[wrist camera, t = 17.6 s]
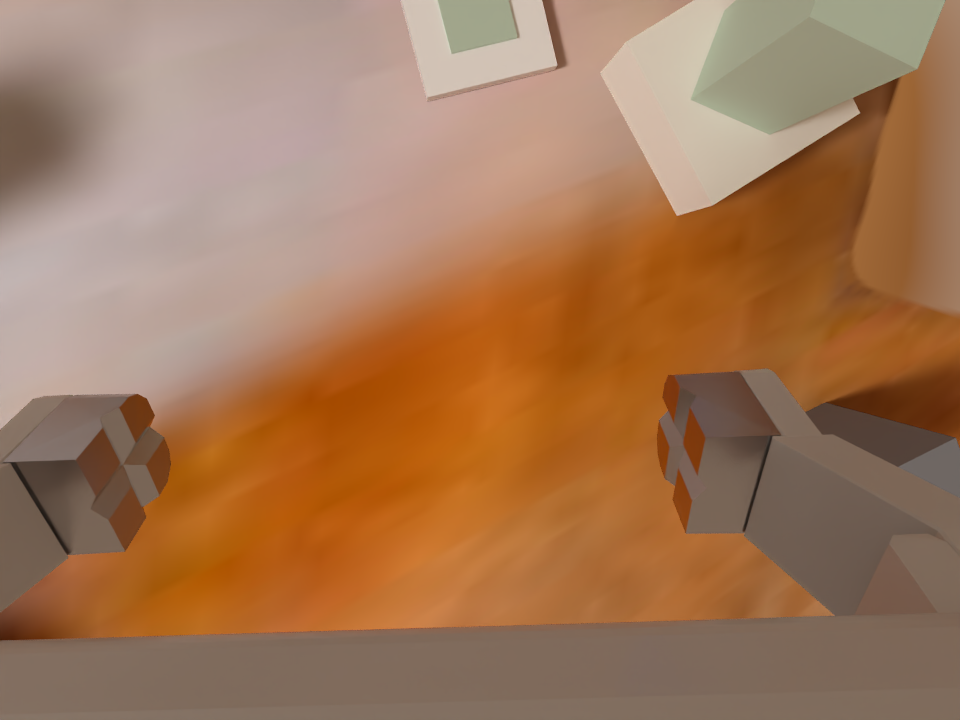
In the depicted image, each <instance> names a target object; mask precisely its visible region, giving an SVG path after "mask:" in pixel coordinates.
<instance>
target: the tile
mask: <svg viewBox="0 0 960 720" xmlns="http://www.w3.org/2000/svg"><path fill="white" fill-rule="evenodd" d="M400 1H401V5H402V9H403V12H404V16H405V20H406V24H407V28H408V31H409V35H410V39H411V43H412V46H413V50H414V54H415V58H416V61H417V65H418V69H419V73H420V76H421V80H422V84H423V88H424V92H425V95H426V99H427V102H428V101H432V100H436V99H440V98H444V97H448V96H452V95H456V94H460V93H464V92H468V91H472V90H476V89H480V88H484V87H488V86H493V85H497V84H501V83H505V82H509V81H513V80H517V79H521V78H525V77H529V76H533V75H537V74H541V73H545V72H549V71H553V70H555V68H556V67H557V61H556V57H555V53H554V49H553V44H552V40H551V36H550V32H549V27H548V23H547V19H546V15H545V10H544V6H543V2H542V0H400Z"/></svg>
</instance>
